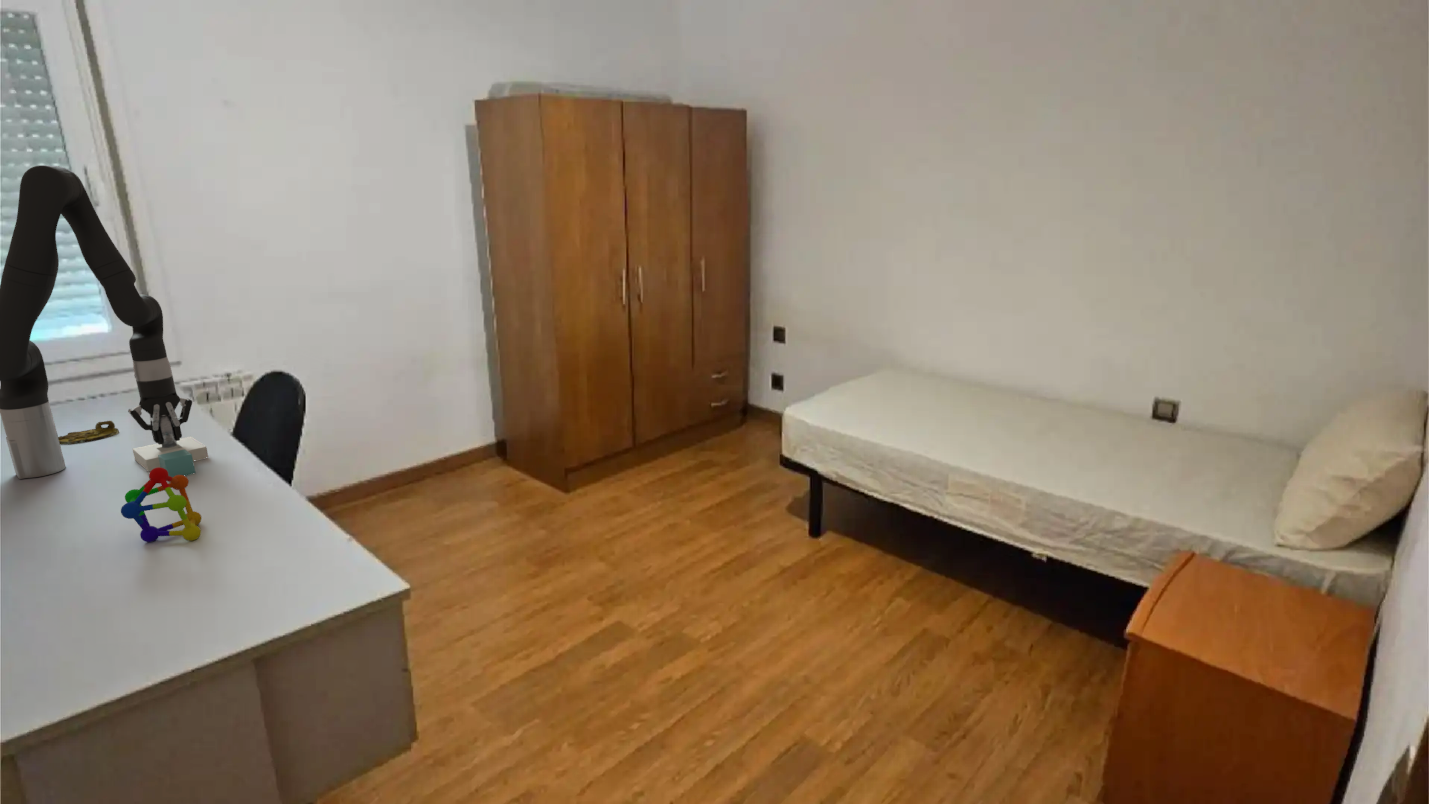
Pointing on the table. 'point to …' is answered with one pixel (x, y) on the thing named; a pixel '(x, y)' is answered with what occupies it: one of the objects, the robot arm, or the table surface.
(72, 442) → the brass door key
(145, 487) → the educational toy
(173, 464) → the frosted teal cube
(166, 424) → the peg
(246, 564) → the table surface
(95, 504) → the table surface
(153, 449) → the board
